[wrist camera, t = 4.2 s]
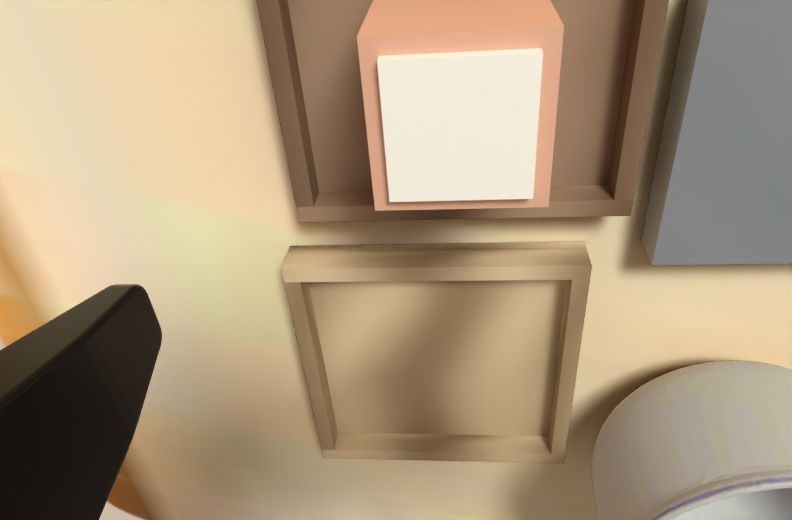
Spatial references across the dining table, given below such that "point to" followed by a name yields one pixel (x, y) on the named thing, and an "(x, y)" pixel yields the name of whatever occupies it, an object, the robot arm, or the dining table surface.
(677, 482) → the teacup
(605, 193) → the walnut tray
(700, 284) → the dining table surface
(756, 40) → the slate tile
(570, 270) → the oak tray
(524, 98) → the letter block
